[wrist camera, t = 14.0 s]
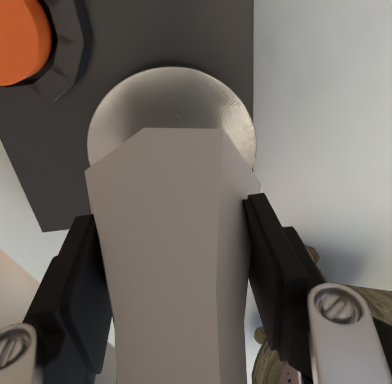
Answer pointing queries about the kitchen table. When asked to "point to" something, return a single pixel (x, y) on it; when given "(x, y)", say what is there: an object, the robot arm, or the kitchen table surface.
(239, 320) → the flask
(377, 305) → the tabletop clock
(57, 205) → the scale
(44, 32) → the scale button
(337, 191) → the kitchen table surface
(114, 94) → the weighing pan
